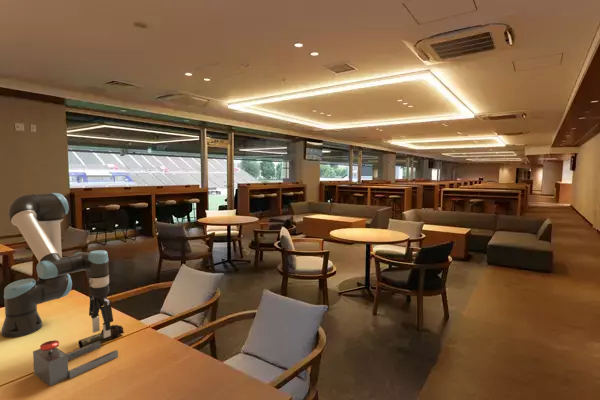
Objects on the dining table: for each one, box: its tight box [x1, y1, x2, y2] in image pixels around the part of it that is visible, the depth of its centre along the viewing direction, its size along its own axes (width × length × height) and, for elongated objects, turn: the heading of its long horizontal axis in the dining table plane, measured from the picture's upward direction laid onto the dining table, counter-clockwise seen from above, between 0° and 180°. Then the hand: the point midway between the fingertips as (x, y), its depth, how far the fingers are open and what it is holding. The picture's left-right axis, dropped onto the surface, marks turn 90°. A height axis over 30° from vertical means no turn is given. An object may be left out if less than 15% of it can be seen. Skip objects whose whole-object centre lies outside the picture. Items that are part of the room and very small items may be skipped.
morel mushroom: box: [77, 324, 125, 349], centre depth 154 cm, size 18×7×6 cm, turn 142°
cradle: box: [32, 340, 119, 387], centre depth 134 cm, size 15×24×12 cm, turn 148°
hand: (101, 334), depth 155 cm, fingers open, 9 cm apart
